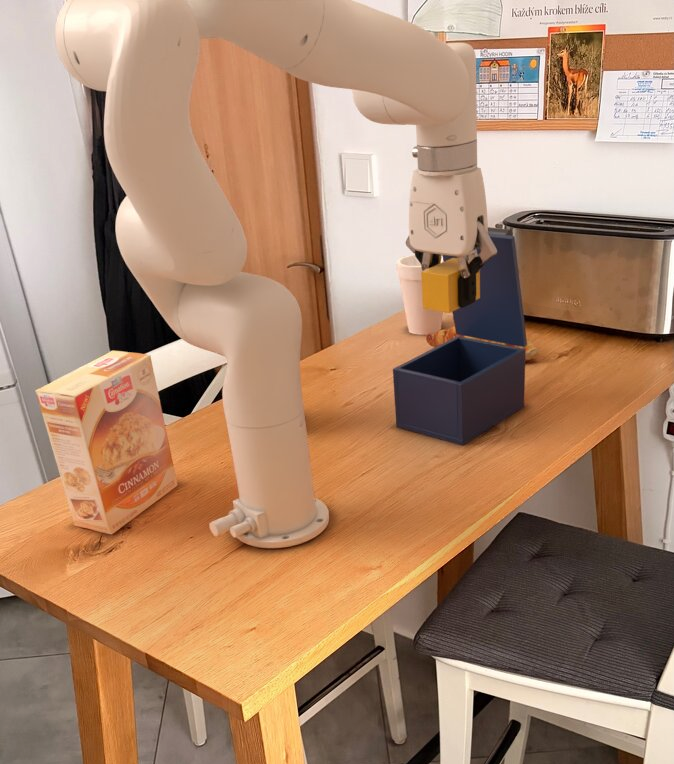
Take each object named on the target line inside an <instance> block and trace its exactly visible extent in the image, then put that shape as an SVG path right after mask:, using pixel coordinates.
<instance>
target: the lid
mask: <svg viewBox="0 0 674 764" xmlns="http://www.w3.org/2000/svg"><path fill="white" fill-rule="evenodd" d="M488 235H489V236H490V238H491V240H492V242H493V244H494V245H495V247H496V249H497V254H496V255H494V256H493V257H492V258H491V259H490V260H488V261H487V262H486V263H485V264H484V265H483V267H482V268H481V269H480V298H479V299H477V300H476V301H475V302H474V303H472V304H470V305H468V306H466V307H464V308H459V309H457V310H455V311H453V312H451V313H452V318H453V323H454V325H455V330H456V334H458V335H463V336H468V337H474V338H479V339H484V340H489V341H495V342H500V343H505V344H511V345H516V346H521V347H525V346H526V345H527V339H528V338H527V331H526V324H525V323H526V322H525V315H524V306H523V295H522V289H521V281H520V273H519V272H520V271H519V263H518V256H517V246H516V237H515V236H514V232H513V230H512V229H509V228H498V227H491V226H490V227H489V226H488ZM476 250H477V254H478V255H479V254H480V253H481V248H480V249H476ZM442 256H443V262H444V261H447V260H449V259H451V258H457V256H449V255H442ZM467 259H468V260H469V258H468V256H467ZM526 338H527V339H526Z"/></svg>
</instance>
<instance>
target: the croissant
mask: <svg viewBox="0 0 674 764" xmlns="http://www.w3.org/2000/svg"><path fill="white" fill-rule="evenodd" d="M457 336H460V337H465V338H471V339H476V340H481V341H486V342H492V343H497V344H502V345H507V346H513V347H518V348H523V349H525V361H530V360H533V359H535V358H536V357H538V356H539V349H538V348H537V346H535V345H534V343H532V342H531V340H530V339H529V338H527V337H526V339H527V345H526V346H525V347H521V346H516V345H511V344H505V343H500V342H495V341H489V340H484V339H479V338H474V337H468V336H463V335H458V334H456V330H455V324H454V325H452V326H451V328H449V329H448V330H447V329H440V330H439V331H437V332H435V333H428V334H425V340H426V343H427V344H428V345H429V346H431V347H432V348H435V347H437V346H439V345H441V344H443V343H445V342H447V341H449V340H451V339H453V338H455V337H457Z"/></svg>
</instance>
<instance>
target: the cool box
mask: <svg viewBox="0 0 674 764" xmlns="http://www.w3.org/2000/svg"><path fill="white" fill-rule="evenodd" d="M392 379H393V394H394V411H395V412H394V413H395V426H396V428H400V429H403V430H406V431H410V432H413V433H416V434H420V435H424V436H428V437H431V438H434V439H439V440H443V441H445V442H449V443H453V444H456V445H460V446H465V445H466V444H468V443H469V442H471V441H472V440H473V439H475V438H477V437H479V436H480V435H482V434H483V433H485V432H487V431H488V430H490V429H491V428H493V427H495V426H496V425H498V424H499V423H501V422H503V421H504V420H506V419H508V418H509V417H510V416H512V415H514V414H516V413H517V412H519V411H520V410H522V409H523V408H525V392H526V391H525V390H526V389H525V387H526V385H525V384H526V360H525V349H523V348H518V347H513V346H507V345H502V344H497V343H492V342H486V341H481V340H476V339H471V338H465V337H460V336H457V337H455V338H453V339H451V340H449V341H447V342H445V343H443V344H441V345H439V346H437V347H435V348H434V347H432V348H431V349H429V350H428V351H425V352H423V353H421V354H419V355H418V356H415V357H414V358H412V359H410V360H408V361H405V362H403V363H402V364H400V365H398V366H396V367H394V368H392Z"/></svg>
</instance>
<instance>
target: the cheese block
mask: <svg viewBox="0 0 674 764" xmlns="http://www.w3.org/2000/svg"><path fill="white" fill-rule="evenodd" d="M468 263H469V260H468ZM459 277H461V272H460V267H459V263H458V258H451V259H449V260H447V261H444V262H442V263H440V264H437V265H435V266H433V267H431V268H428V269H426V270H424V271H421V279H422V300H423V308H424V309H429V310H435V311H441V312H443V313H447V314H450V313H452V312H453V311H455V310H457V309H459V308H461V307H459V305H458V278H459ZM479 298H480V272H478V273H476V300H477V299H479Z"/></svg>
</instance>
